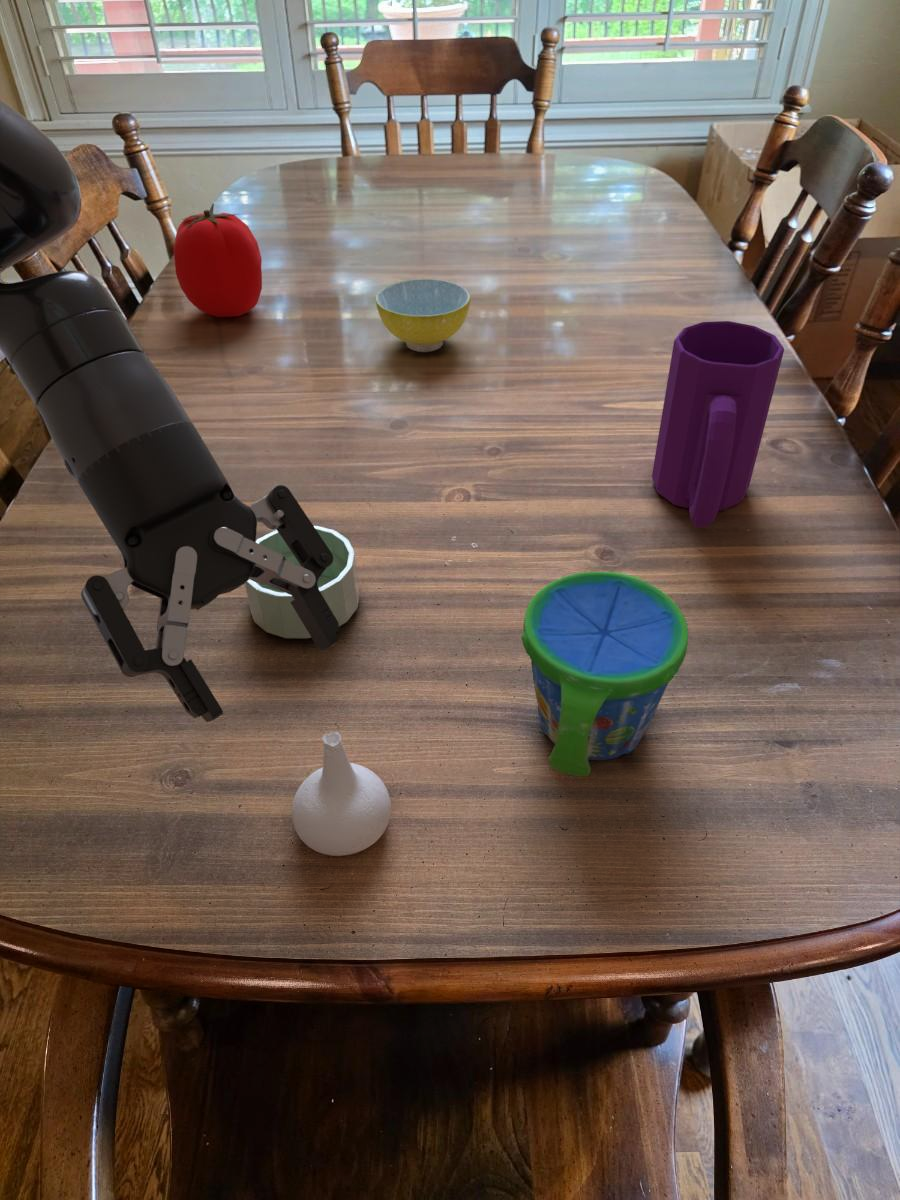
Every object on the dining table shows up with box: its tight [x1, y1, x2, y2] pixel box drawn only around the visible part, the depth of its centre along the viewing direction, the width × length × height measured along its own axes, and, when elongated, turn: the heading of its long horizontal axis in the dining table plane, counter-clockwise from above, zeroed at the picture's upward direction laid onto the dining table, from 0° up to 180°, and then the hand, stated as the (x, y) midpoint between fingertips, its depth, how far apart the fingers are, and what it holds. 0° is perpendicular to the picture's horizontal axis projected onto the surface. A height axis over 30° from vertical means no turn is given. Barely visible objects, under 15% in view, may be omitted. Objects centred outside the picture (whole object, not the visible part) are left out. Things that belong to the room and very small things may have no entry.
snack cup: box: [521, 571, 689, 777], centre depth 59 cm, size 16×10×10 cm
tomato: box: [173, 203, 263, 318], centre depth 113 cm, size 12×12×13 cm
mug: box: [651, 320, 785, 529], centre depth 77 cm, size 9×16×15 cm, turn 167°
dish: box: [243, 524, 361, 639], centre depth 71 cm, size 9×9×5 cm
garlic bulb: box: [291, 731, 392, 857], centre depth 54 cm, size 6×6×8 cm
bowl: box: [375, 278, 471, 353], centre depth 107 cm, size 11×12×6 cm
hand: (275, 680), depth 53 cm, fingers open, 8 cm apart
